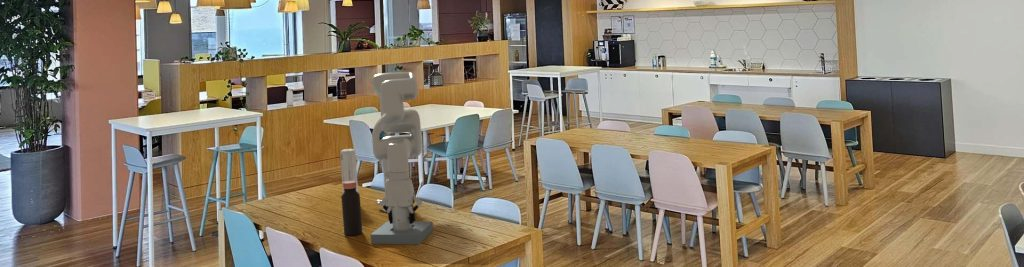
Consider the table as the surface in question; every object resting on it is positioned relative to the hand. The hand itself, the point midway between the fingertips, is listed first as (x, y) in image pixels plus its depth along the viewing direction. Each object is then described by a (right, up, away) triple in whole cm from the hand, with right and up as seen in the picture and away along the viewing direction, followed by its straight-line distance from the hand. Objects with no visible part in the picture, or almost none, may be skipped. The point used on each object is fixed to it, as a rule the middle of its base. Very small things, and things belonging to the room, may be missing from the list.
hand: (402, 222), depth 284 cm
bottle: (-20, -5, +8) cm, 22 cm away
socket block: (0, -5, +1) cm, 5 cm away
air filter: (-30, +1, +53) cm, 61 cm away
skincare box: (0, -4, +1) cm, 4 cm away
